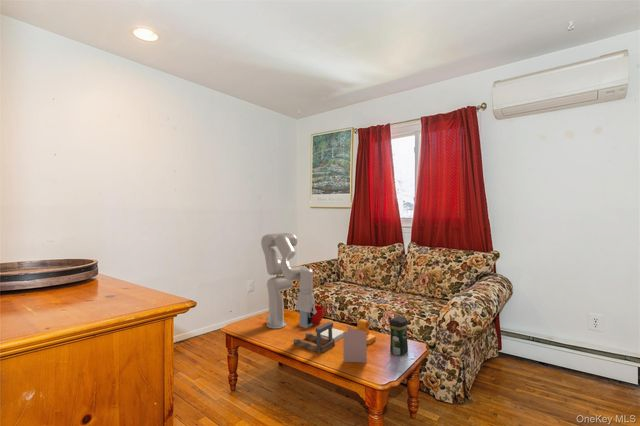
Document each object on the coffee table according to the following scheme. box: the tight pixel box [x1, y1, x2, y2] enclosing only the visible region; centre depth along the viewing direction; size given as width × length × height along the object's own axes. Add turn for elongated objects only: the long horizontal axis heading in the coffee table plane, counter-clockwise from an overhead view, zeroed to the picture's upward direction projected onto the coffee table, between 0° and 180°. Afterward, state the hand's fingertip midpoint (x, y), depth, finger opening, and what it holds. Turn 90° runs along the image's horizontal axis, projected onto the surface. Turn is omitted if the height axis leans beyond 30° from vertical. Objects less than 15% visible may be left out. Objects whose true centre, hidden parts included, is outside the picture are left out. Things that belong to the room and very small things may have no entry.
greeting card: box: [342, 326, 368, 363], centre depth 159 cm, size 11×7×15 cm, turn 48°
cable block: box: [299, 311, 313, 329], centre depth 182 cm, size 5×5×9 cm
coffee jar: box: [389, 315, 409, 357], centre depth 168 cm, size 10×8×19 cm
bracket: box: [356, 318, 377, 346], centre depth 182 cm, size 11×7×12 cm, turn 134°
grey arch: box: [315, 321, 334, 346], centre depth 174 cm, size 3×12×9 cm, turn 142°
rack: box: [292, 332, 336, 355], centre depth 179 cm, size 20×12×3 cm, turn 52°
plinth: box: [321, 327, 346, 342], centre depth 190 cm, size 12×12×2 cm
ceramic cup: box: [312, 304, 325, 326], centre depth 211 cm, size 13×17×10 cm
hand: (306, 322), depth 182 cm, fingers closed on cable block, 5 cm apart
